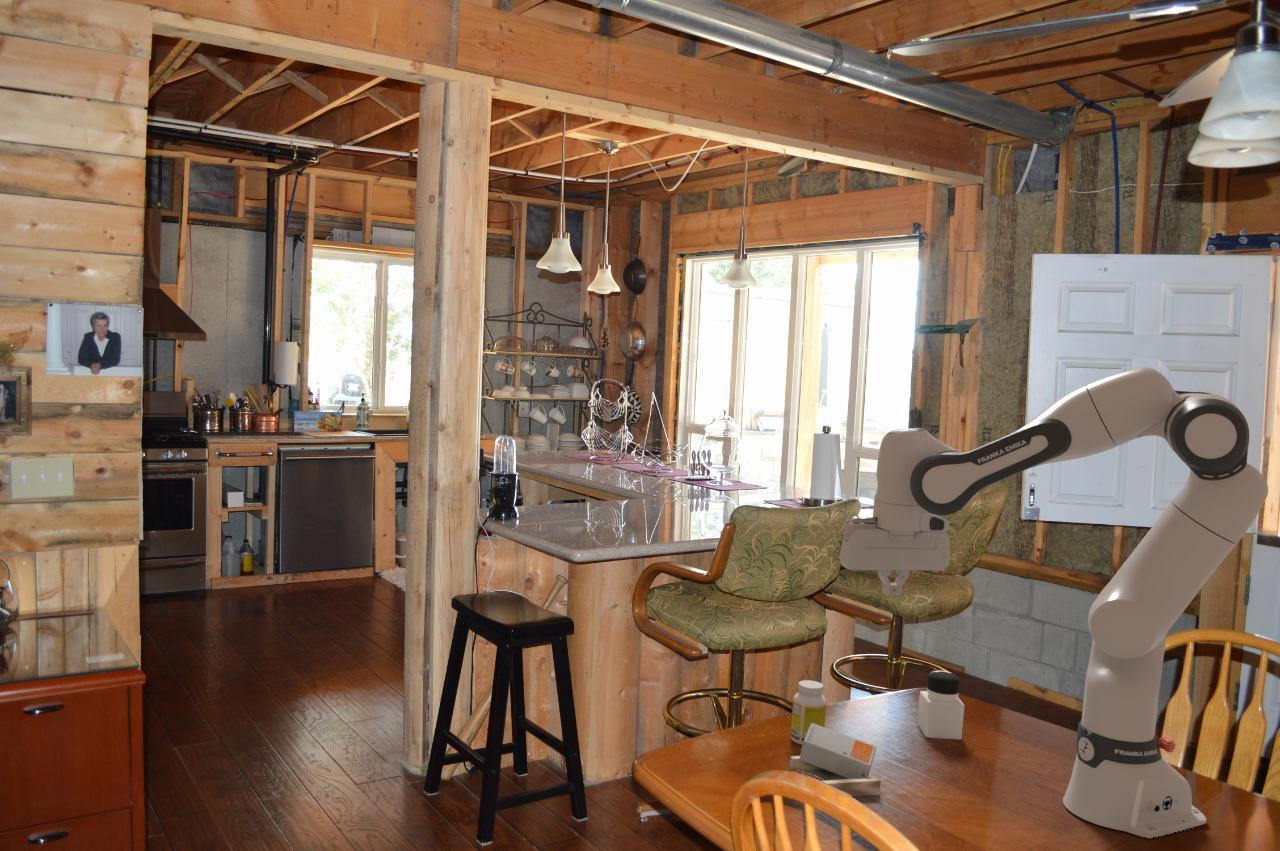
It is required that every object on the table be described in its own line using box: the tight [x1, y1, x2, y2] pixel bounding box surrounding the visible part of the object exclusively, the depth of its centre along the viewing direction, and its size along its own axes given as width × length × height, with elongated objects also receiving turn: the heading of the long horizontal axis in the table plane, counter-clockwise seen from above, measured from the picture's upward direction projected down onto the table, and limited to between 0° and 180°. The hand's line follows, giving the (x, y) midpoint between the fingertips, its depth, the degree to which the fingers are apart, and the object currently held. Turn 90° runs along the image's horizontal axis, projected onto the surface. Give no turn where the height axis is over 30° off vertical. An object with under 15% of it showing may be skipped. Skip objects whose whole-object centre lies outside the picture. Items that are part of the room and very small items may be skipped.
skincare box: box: [799, 723, 877, 779], centre depth 179 cm, size 6×4×12 cm
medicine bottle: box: [916, 670, 966, 741], centre depth 203 cm, size 7×7×12 cm
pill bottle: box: [790, 679, 827, 746], centre depth 194 cm, size 6×6×11 cm
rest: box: [788, 755, 881, 798], centre depth 176 cm, size 12×11×2 cm
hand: (891, 593), depth 184 cm, fingers closed
